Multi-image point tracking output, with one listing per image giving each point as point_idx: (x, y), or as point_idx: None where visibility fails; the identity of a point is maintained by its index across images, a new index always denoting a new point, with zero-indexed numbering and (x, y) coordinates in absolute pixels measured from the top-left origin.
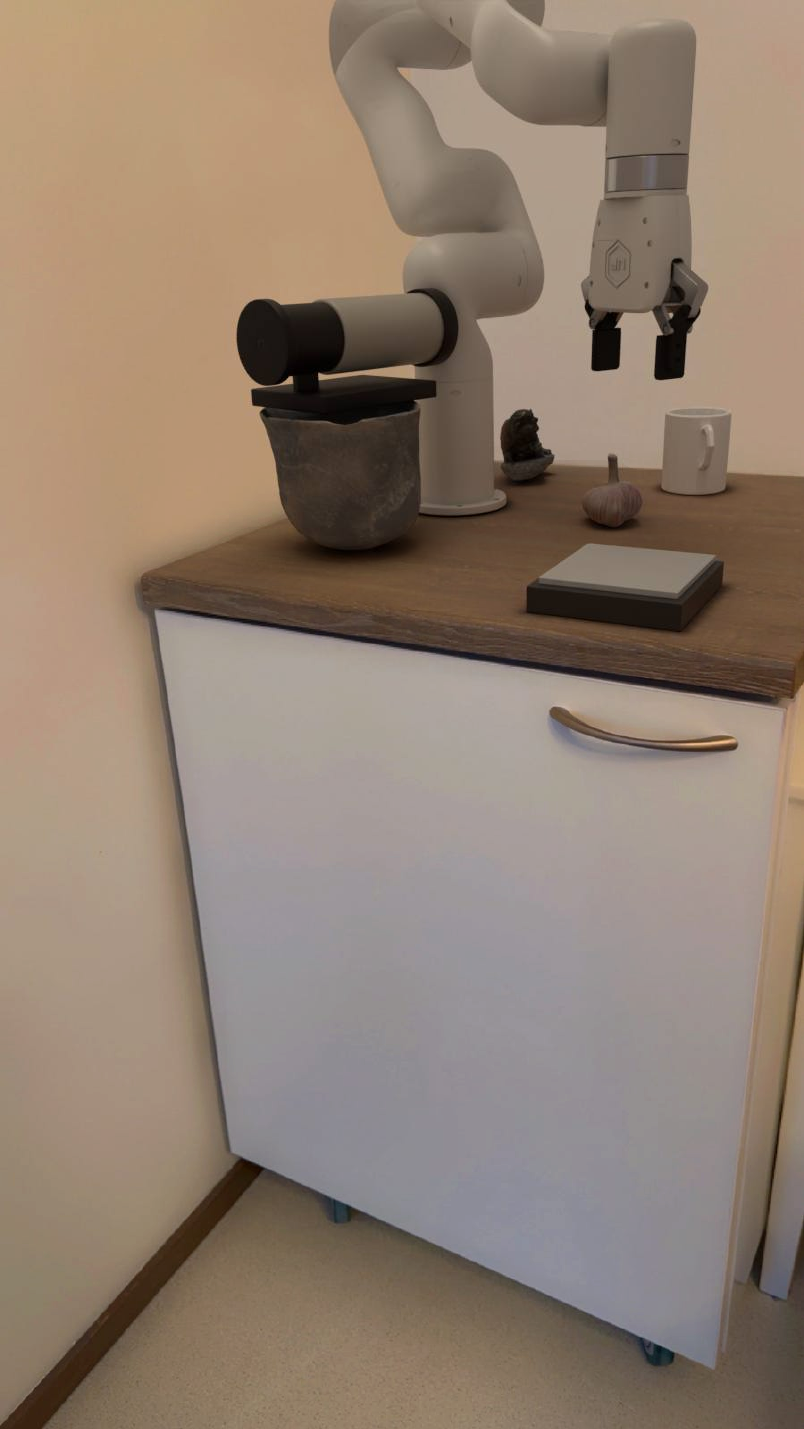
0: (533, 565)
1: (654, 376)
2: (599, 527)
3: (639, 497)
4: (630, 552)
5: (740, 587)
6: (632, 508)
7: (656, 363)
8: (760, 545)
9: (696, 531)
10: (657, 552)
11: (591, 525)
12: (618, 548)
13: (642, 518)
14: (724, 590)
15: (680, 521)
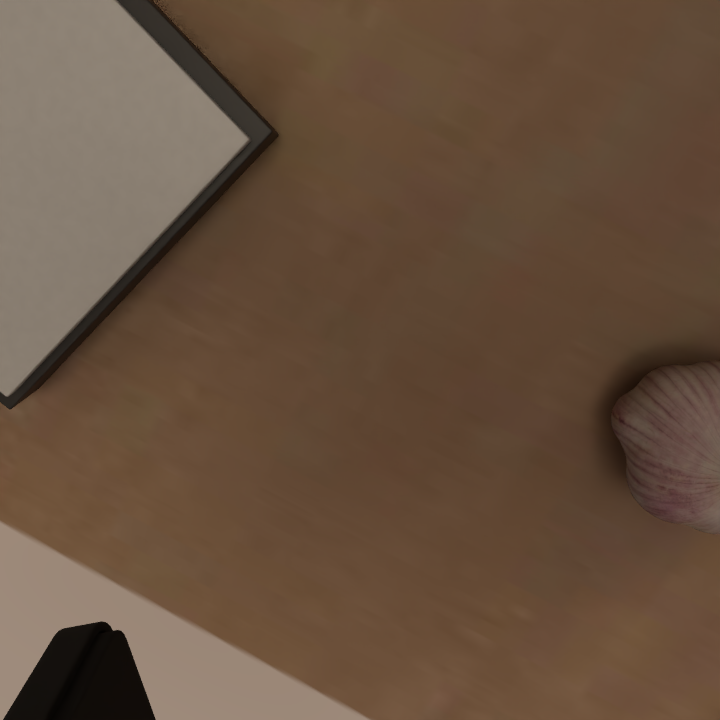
0: (390, 30)
1: (90, 626)
2: None
3: (648, 508)
4: (103, 205)
5: (18, 419)
6: (629, 471)
7: (35, 706)
8: (314, 619)
9: (491, 562)
10: (78, 274)
11: None
12: (157, 195)
13: None
14: None
15: (595, 575)
